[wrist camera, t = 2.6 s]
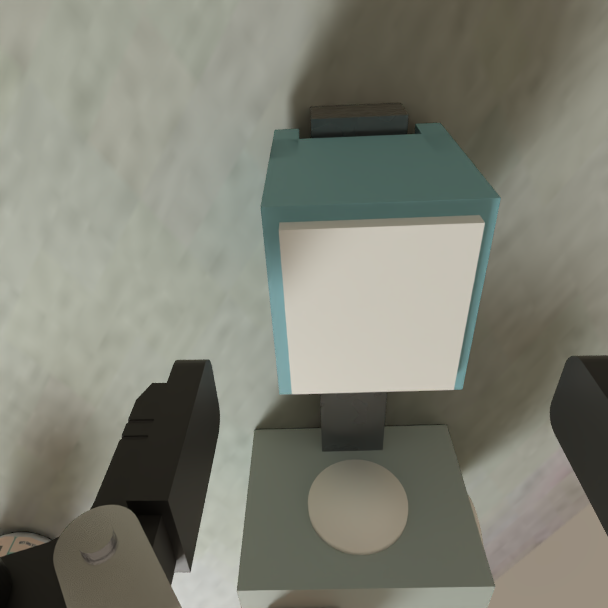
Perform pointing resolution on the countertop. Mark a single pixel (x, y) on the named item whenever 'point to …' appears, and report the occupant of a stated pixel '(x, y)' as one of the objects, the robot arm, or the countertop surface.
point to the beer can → (19, 542)
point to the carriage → (374, 260)
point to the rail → (363, 405)
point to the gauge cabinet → (360, 525)
